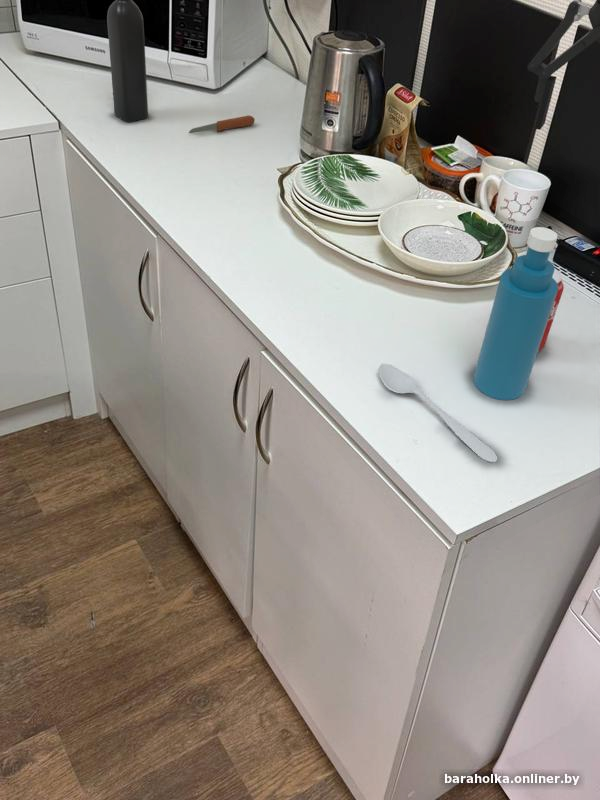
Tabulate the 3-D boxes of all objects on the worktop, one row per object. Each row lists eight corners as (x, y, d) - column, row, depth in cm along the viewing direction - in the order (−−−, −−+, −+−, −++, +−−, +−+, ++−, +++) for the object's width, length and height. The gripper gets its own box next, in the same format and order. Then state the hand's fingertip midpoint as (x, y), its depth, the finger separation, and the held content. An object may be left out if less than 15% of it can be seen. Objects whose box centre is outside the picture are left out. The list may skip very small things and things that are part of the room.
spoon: (391, 367, 109) (392, 357, 108) (506, 455, 98) (510, 445, 97) (368, 377, 107) (370, 368, 106) (484, 469, 96) (487, 459, 94)
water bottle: (516, 367, 112) (562, 220, 97) (531, 400, 106) (583, 249, 92) (467, 367, 111) (506, 218, 96) (480, 400, 105) (524, 248, 91)
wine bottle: (112, 114, 170) (99, -44, 151) (135, 109, 173) (125, -47, 154) (127, 123, 167) (116, -37, 148) (150, 118, 170) (142, -40, 151)
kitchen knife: (251, 123, 172) (251, 113, 171) (255, 125, 171) (255, 116, 170) (186, 135, 164) (186, 126, 163) (190, 138, 164) (190, 128, 162)
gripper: (529, -45, 98) (493, 125, 112) (746, -11, 91) (679, 168, 104) (544, -55, 104) (507, 109, 117) (750, -23, 96) (685, 149, 109)
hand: (588, 137), depth 111 cm, fingers open, 13 cm apart
